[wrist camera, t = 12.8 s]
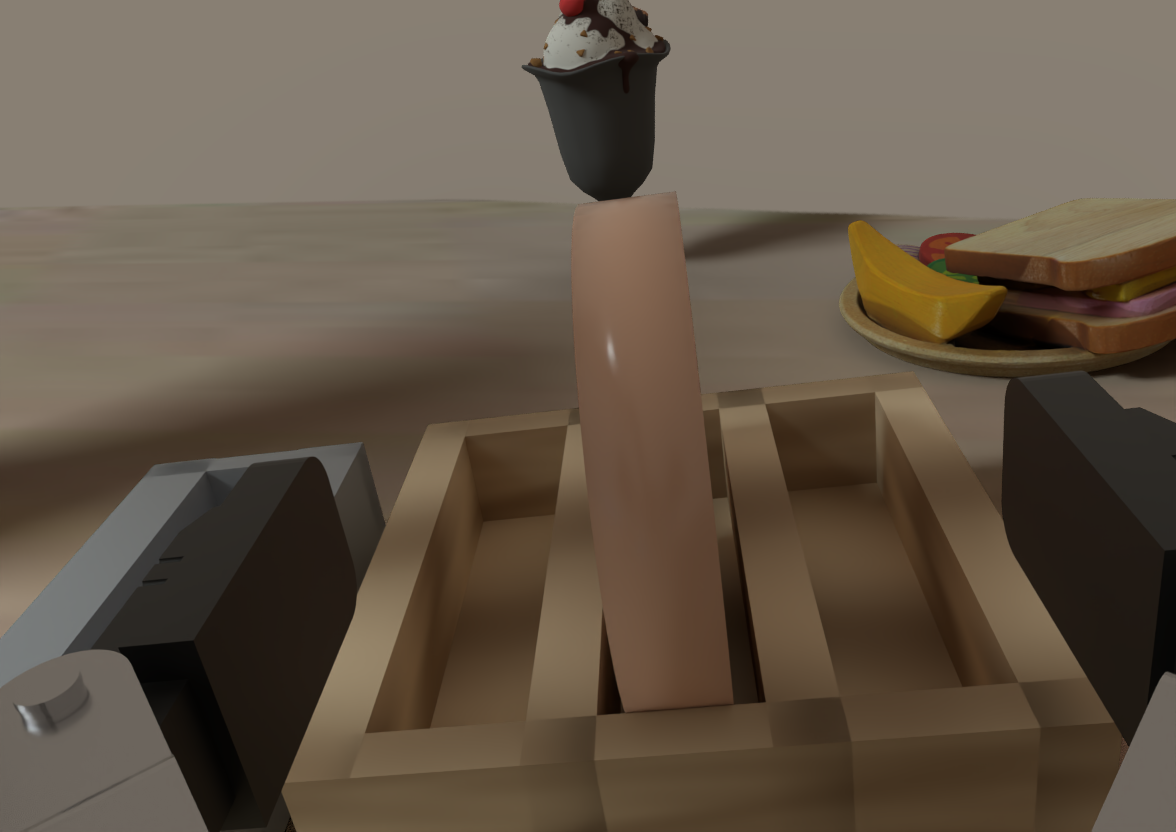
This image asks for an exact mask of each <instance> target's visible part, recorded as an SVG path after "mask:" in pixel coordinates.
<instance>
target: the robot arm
mask: <svg viewBox="0 0 1176 832" xmlns="http://www.w3.org/2000/svg"><path fill="white" fill-rule="evenodd" d="M1002 514H1003V522H1004V527H1005V532H1006V536H1007V539H1008V543H1009V545H1010V548H1011V550H1012V553H1013V555H1014V557H1015V558H1016V560H1017V562H1018V563H1019V565H1020V567H1021V568H1022V570H1023V572H1024V573H1025V575H1026V577H1027V578H1028V580H1029V582H1030V583H1031V585H1032V586H1033V588H1034V590H1035V591H1036V593H1037V595H1038V596H1039V598H1040V600H1041V601H1042V603H1043V605H1044V606H1045V608H1046V610H1047V611H1048V613H1049V615H1050V616H1051V618H1052V620H1053V621H1054V623H1055V625H1056V626H1057V628H1058V630H1059V631H1060V633H1061V635H1062V636H1063V638H1064V640H1065V641H1066V643H1067V645H1068V646H1069V648H1070V650H1071V651H1072V653H1073V655H1074V656H1075V658H1076V660H1077V661H1078V663H1079V665H1080V666H1081V668H1082V670H1083V671H1084V673H1085V675H1086V676H1087V678H1088V680H1089V681H1090V683H1091V685H1092V686H1093V688H1094V690H1095V691H1096V693H1097V695H1098V696H1099V698H1100V700H1101V701H1102V703H1103V705H1104V706H1105V708H1106V710H1107V711H1108V713H1109V715H1110V716H1111V718H1112V720H1113V721H1114V723H1115V725H1116V726H1117V728H1118V730H1119V731H1120V733H1121V735H1122V736H1123V738H1124V740H1125V741H1126V743H1127V745H1128V746H1129V749H1128V751H1127V753H1126V755H1125V758H1124V760H1123V762H1122V764H1121V767H1120V769H1119V771H1118V773H1117V775H1116V778H1115V780H1114V782H1113V784H1112V787H1111V789H1110V791H1109V793H1108V795H1107V798H1106V800H1105V802H1104V804H1103V806H1102V809H1101V811H1100V813H1099V815H1098V818H1097V820H1096V822H1095V824H1094V826H1093V829H1092V831H1091V832H1176V423H1174V422H1172V421H1170V420H1168V419H1165V418H1163V417H1161V416H1158V415H1156V414H1154V413H1152V412H1149V411H1147V410H1145V409H1142V408H1140V407H1139V408H1130V409H1123V408H1122V407H1121V406H1120V405H1119V404H1118V403H1117V402H1116V401H1115V400H1114V399H1113V398H1112V397H1111V396H1110V395H1109V394H1108V393H1107V392H1106V391H1105V390H1104V389H1103V388H1102V387H1101V386H1100V385H1099V384H1098V383H1097V382H1096V381H1095V380H1094V379H1093V378H1092V377H1091V376H1090V375H1089V374H1088V373H1086V372H1085V371H1073V372H1064V373H1055V374H1046V375H1037V376H1029V377H1020V378H1013V379H1011V380H1010V382H1009V384H1008V386H1007V390H1006V395H1005V408H1004V440H1003V472H1002ZM142 583H143V585H142V586H141V587H137V588H136V590H135V591H134V592H133V594H132V595H131V596H130V598H129V599H128V600H127V602H126V603H125V604H124V606H123V607H122V608H121V609H120V611H119V612H118V613H117V615H116V616H115V617H114V619H113V620H112V621H111V623H110V624H109V625H108V627H107V628H106V629H105V631H104V632H103V633H102V634H101V636H100V637H99V638H98V640H97V641H96V642H95V644H94V645H93V646H92V648H91V649H90V650H86V651H79V652H74V653H70V654H66V655H63V656H60V657H57V658H54V659H51V660H49V661H46V662H44V663H41V664H39V665H37V666H35V667H33V668H31V669H29V670H27V671H25V672H23V673H22V674H20V675H18V676H17V677H15V678H13V679H12V680H11V681H9V682H8V683H6V684H5V685H3V686H2V687H1V688H0V832H220V831H227V830H240V829H254V828H266V827H267V825H268V822H269V820H270V817H271V815H272V813H273V810H274V808H275V805H276V803H277V801H278V798H279V796H280V793H281V791H282V788H283V786H284V784H285V781H286V779H287V776H288V774H289V771H290V769H291V767H292V764H293V762H294V759H295V757H296V755H297V752H298V750H299V747H300V745H301V742H302V740H303V738H304V735H305V733H306V730H307V728H308V725H309V723H310V721H311V718H312V716H313V713H314V711H315V708H316V706H317V704H318V701H319V699H320V696H321V694H322V692H323V689H324V687H325V684H326V682H327V679H328V677H329V675H330V672H331V670H332V667H333V665H334V662H335V660H336V658H337V655H338V653H339V650H340V648H341V646H342V643H343V641H344V638H345V636H346V633H347V631H348V629H349V626H350V624H351V621H352V619H353V616H354V613H355V608H356V600H357V581H356V573H355V568H354V564H353V560H352V557H351V553H350V550H349V546H348V543H347V540H346V536H345V533H344V529H343V526H342V523H341V519H340V516H339V512H338V509H337V506H336V502H335V499H334V495H333V492H332V488H331V485H330V482H329V478H328V475H327V472H326V470H325V468H324V466H323V464H322V463H321V461H320V460H319V459H318V458H316V457H314V456H311V457H302V458H293V459H284V460H275V461H267V462H258V463H253V464H251V465H250V466H249V467H248V468H247V470H246V471H245V472H244V474H243V475H242V477H241V478H240V479H239V481H238V482H237V484H236V485H235V486H234V488H233V489H232V490H231V492H230V493H229V495H228V496H227V497H226V499H225V500H224V501H223V503H222V504H221V506H218V507H213V508H211V509H210V510H209V511H207V512H206V513H205V514H203V515H202V516H200V517H199V518H198V519H196V520H195V521H194V522H192V523H191V524H190V525H188V526H187V527H185V528H184V529H183V530H181V531H180V532H179V533H178V534H177V536H176V537H175V538H174V540H173V541H172V542H171V544H170V545H169V546H168V548H167V549H166V550H165V552H164V553H163V554H162V555H161V557H160V558H159V564H155V565H154V566H153V567H152V569H151V570H150V571H149V573H148V574H147V575H146V577H145V578H144V579H143V581H142Z"/></svg>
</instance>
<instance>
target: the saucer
mask: <svg viewBox="0 0 1176 832" xmlns="http://www.w3.org/2000/svg"><path fill="white" fill-rule="evenodd" d="M571 279H572V311H573V331H574V348H575V363H576V378H577V390H578V402H579V414H580V426H581V436H582V446H583V456H584V466H585V476H586V484H587V493H588V502H589V511H590V519H591V527H592V534H593V542H594V550H595V558H596V565H597V572H598V578H599V585H600V592H601V599H602V605H603V611H604V617H605V623H606V629H607V635H608V641H609V646H610V651H611V657H612V662H613V667H614V671H615V676H616V681H617V685H618V690H619V693H620V697H621V701H622V705H623V708H624V711H625V713H635V712H648V711H661V710H674V709H686V708H699V707H712V706H725V705H734V702H733V691H732V680H731V670H730V660H729V649H728V640H727V630H726V620H725V610H724V601H723V591H722V582H721V572H720V563H719V554H718V544H717V535H716V526H715V517H714V507H713V498H712V489H711V480H710V471H709V462H708V453H707V444H706V435H705V426H704V417H703V408H702V400H701V391H700V382H699V373H698V364H697V356H696V347H695V338H694V330H693V321H692V313H691V304H690V296H689V287H688V279H687V271H686V262H685V254H684V246H683V238H682V230H681V222H680V215H679V208H678V201H677V195H676V191H674V192H667V193H660V194H652V195H644V196H637V197H629V198H621V199H614V200H606V201H599V202H591V203H583V204H578V206H577V207H576V209H575V213H574V219H573V228H572V248H571Z"/></svg>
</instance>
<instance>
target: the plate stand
mask: <svg viewBox="0 0 1176 832" xmlns="http://www.w3.org/2000/svg"><path fill="white" fill-rule="evenodd" d="M311 456H314V457H316V458H318V459H319V460H320V461H321V463H322V464H323V466H324V468H325V470H326V472H327V475H328V478H329V482H330V485H331V488H332V492H333V495H334V499H335V502H336V506H337V509H338V512H339V516H340V519H341V523H342V526H343V529H344V533H345V536H346V540H347V543H348V546H349V550H350V553H351V557H352V560H353V564H354V568H355V573H356V581H357V594H358V591H359V589H360V587H361V584H362V582H363V579H364V577H365V575H366V572H367V570H368V567H369V565H370V563H371V560H372V558H373V555H374V553H375V551H376V548H377V546H378V543H379V541H380V539H381V536H382V534H383V531H384V529H385V527H386V525H385V521H384V517H383V514H382V510H381V506H380V503H379V499H378V495H377V492H376V488H375V484H374V481H373V477H372V473H371V470H370V466H369V462H368V458H367V455H366V451H365V447H364V444H363V442H359V443H350V444H340V445H331V446H322V447H313V448H304V449H299V450H293V451H283V452H274V453H265V454H256V455H247V456H237V457H228V458H219V459H216V458H212V459H202V460H193V461H184V462H175V463H166V464H156V465H154V466H153V467H152V468H151V469H150V470H149V471H148V473H147V474H146V475H145V476H144V477H143V478H142V479H141V480H140V482H139V483H138V484H137V485H136V486H135V487H134V488H133V490H132V491H131V492H130V493H129V494H128V495H127V496H126V497H125V499H124V500H123V501H122V502H121V503H120V504H119V505H118V506H117V508H116V509H115V510H114V511H113V512H112V513H111V514H110V515H109V517H108V518H107V519H106V520H105V521H104V522H103V523H102V525H101V526H100V527H99V528H98V529H97V530H96V531H95V532H94V534H93V535H92V536H91V537H90V538H89V539H88V540H87V541H86V543H85V544H84V545H83V546H82V547H81V548H80V549H79V551H78V552H77V553H76V554H75V555H74V556H73V557H72V558H71V560H70V561H69V562H68V563H67V564H66V565H65V566H64V567H63V569H62V570H61V571H60V572H59V573H58V574H57V575H56V576H55V578H54V579H53V580H52V581H51V582H50V583H49V584H48V586H47V587H46V588H45V589H44V590H43V591H42V592H41V593H40V595H39V596H38V597H37V598H36V599H35V600H34V601H33V602H32V604H31V605H30V606H29V607H28V608H27V609H26V610H25V612H24V613H23V614H22V615H21V616H20V617H19V618H18V619H17V621H16V622H15V623H14V624H13V625H12V626H11V627H10V628H9V630H8V631H7V632H6V633H5V634H4V635H3V636H2V637H1V639H0V688H1V687H2V686H3V685H5V684H6V683H8V682H9V681H11V680H12V679H13V678H15V677H17V676H18V675H20V674H22V673H23V672H25V671H27V670H29V669H31V668H33V667H35V666H37V665H39V664H41V663H44V662H46V661H49V660H51V659H54V658H57V657H60V656H63V655H66V654H70V653H74V652H79V651H86V650H90V649H91V648H92V646H93V645H94V644H95V642H96V641H97V640H98V638H99V637H100V636H101V634H102V633H103V632H104V631H105V629H106V628H107V627H108V625H109V624H110V623H111V621H112V620H113V619H114V617H115V616H116V615H117V613H118V612H119V611H120V609H121V608H122V607H123V606H124V604H125V603H126V602H127V600H128V599H129V598H130V596H131V595H132V594H133V592H134V591H135V590H136V588H137V587H141V586H142V585H143V583H142V581H143V579H144V578H145V577H146V575H147V574H148V573H149V571H150V570H151V569H152V567H153V566H154V565H155V564H159V558H160V557H161V555H162V554H163V553H164V552H165V550H166V549H167V548H168V546H169V545H170V544H171V542H172V541H173V540H174V538H175V537H176V536H177V534H178V533H179V532H180V531H181V530H183V529H184V528H185V527H187V526H188V525H190V524H191V523H192V522H194V521H195V520H196V519H198V518H199V517H200V516H202V515H203V514H205V513H206V512H207V511H209V510H210V509H211V508H213V507H218V506H221V504H222V503H223V501H224V500H225V499H226V497H227V496H228V495H229V493H230V492H231V490H232V489H233V488H234V486H235V485H236V484H237V482H238V481H239V479H240V478H241V477H242V475H243V474H244V472H245V471H246V470H247V468H248V467H249V466H250V465H251V464H253V463H258V462H267V461H275V460H284V459H293V458H302V457H311ZM289 819H290V813H289V810H288V808H287V805H286V802H285V800H284V797H283V794H282V792H281V793H280V796H279V798H278V801H277V803H276V805H275V808H274V810H273V813H272V815H271V817H270V820H269V822H268V825H267V827H266V828H254V829H240V830H227V831H220V832H285V829H286V827H287V824H288V821H289Z"/></svg>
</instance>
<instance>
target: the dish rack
mask: <svg viewBox="0 0 1176 832" xmlns="http://www.w3.org/2000/svg"><path fill="white" fill-rule="evenodd" d="M701 400H702V408H703V417H704V426H705V435H706V444H707V453H708V462H709V471H710V480H711V489H712V498H713V507H714V517H715V526H716V535H717V544H718V554H719V563H720V572H721V582H722V591H723V601H724V610H725V620H726V630H727V640H728V649H729V660H730V670H731V680H732V691H733V702H734V705H725V706H712V707H699V708H686V709H674V710H661V711H648V712H635V713H625V711H624V708H623V705H622V701H621V697H620V693H619V690H618V685H617V681H616V676H615V671H614V667H613V662H612V657H611V651H610V646H609V641H608V635H607V629H606V623H605V617H604V611H603V605H602V599H601V592H600V585H599V578H598V572H597V565H596V558H595V550H594V542H593V534H592V527H591V519H590V511H589V502H588V493H587V484H586V476H585V466H584V456H583V446H582V436H581V426H580V414H579V408H574V409H565V410H556V411H546V412H537V413H528V414H519V415H510V416H501V417H492V418H483V419H474V420H464V421H455V422H446V423H437V424H428V426H427V428H426V431H425V433H424V435H423V438H422V440H421V443H420V445H419V447H418V450H417V452H416V455H415V457H414V459H413V462H412V464H411V467H410V469H409V471H408V474H407V476H406V479H405V481H404V483H403V486H402V488H401V491H400V493H399V495H398V498H397V500H396V503H395V505H394V507H393V510H392V512H391V515H390V517H389V519H388V522H387V524H386V527H385V529H384V531H383V534H382V536H381V539H380V541H379V543H378V546H377V548H376V551H375V553H374V555H373V558H372V560H371V563H370V565H369V567H368V570H367V572H366V575H365V577H364V579H363V582H362V584H361V587H360V589H359V591H358V594H357V600H356V608H355V613H354V616H353V619H352V621H351V624H350V626H349V629H348V631H347V633H346V636H345V638H344V641H343V643H342V646H341V648H340V650H339V653H338V655H337V658H336V660H335V662H334V665H333V667H332V670H331V672H330V675H329V677H328V679H327V682H326V684H325V687H324V689H323V692H322V694H321V696H320V699H319V701H318V704H317V706H316V708H315V711H314V713H313V716H312V718H311V721H310V723H309V725H308V728H307V730H306V733H305V735H304V738H303V740H302V742H301V745H300V747H299V750H298V752H297V755H296V757H295V759H294V762H293V764H292V767H291V769H290V771H289V774H288V776H287V779H286V781H285V784H284V786H283V788H282V791H281V792H282V794H283V797H284V800H285V802H286V805H287V808H288V810H289V813H290V816H291V818H292V821H293V824H294V826H295V829H296V832H1091V831H1092V829H1093V826H1094V824H1095V822H1096V820H1097V818H1098V815H1099V813H1100V811H1101V809H1102V806H1103V804H1104V802H1105V800H1106V798H1107V795H1108V793H1109V791H1110V789H1111V787H1112V784H1113V782H1114V780H1115V778H1116V775H1117V773H1118V770H1119V761H1120V752H1121V743H1122V735H1121V733H1120V731H1119V730H1118V728H1117V726H1116V725H1115V723H1114V721H1113V720H1112V718H1111V716H1110V715H1109V713H1108V711H1107V710H1106V708H1105V706H1104V705H1103V703H1102V701H1101V700H1100V698H1099V696H1098V695H1097V693H1096V691H1095V690H1094V688H1093V686H1092V685H1091V683H1090V681H1089V680H1088V678H1087V676H1086V675H1085V673H1084V671H1083V670H1082V668H1081V666H1080V665H1079V663H1078V661H1077V660H1076V658H1075V656H1074V655H1073V653H1072V651H1071V650H1070V648H1069V646H1068V645H1067V643H1066V641H1065V640H1064V638H1063V636H1062V635H1061V633H1060V631H1059V630H1058V628H1057V626H1056V625H1055V623H1054V621H1053V620H1052V618H1051V616H1050V615H1049V613H1048V611H1047V610H1046V608H1045V606H1044V605H1043V603H1042V601H1041V600H1040V598H1039V596H1038V595H1037V593H1036V591H1035V590H1034V588H1033V586H1032V585H1031V583H1030V582H1029V580H1028V578H1027V577H1026V575H1025V573H1024V572H1023V570H1022V568H1021V567H1020V565H1019V563H1018V562H1017V560H1016V558H1015V557H1014V555H1013V553H1012V550H1011V548H1010V545H1009V543H1008V539H1007V536H1006V532H1005V527H1004V522H1003V520H1002V518H1001V516H1000V515H999V513H998V511H997V510H996V508H995V506H994V505H993V503H992V501H991V500H990V498H989V496H988V495H987V493H986V491H985V490H984V488H983V486H982V485H981V483H980V481H979V480H978V478H977V476H976V475H975V473H974V471H973V470H972V468H971V466H970V465H969V463H968V461H967V460H966V458H965V456H964V455H963V453H962V451H961V450H960V448H959V446H958V445H957V443H956V441H955V440H954V438H953V436H952V435H951V433H950V431H949V430H948V428H947V426H946V425H945V423H944V422H943V420H942V418H941V417H940V415H939V413H938V412H937V410H936V408H935V407H934V405H933V403H932V402H931V400H930V398H929V397H928V395H927V393H926V392H925V390H924V388H923V387H922V385H921V383H920V382H919V380H918V378H917V377H916V375H915V373H914V372H913V371H911V372H902V373H892V374H883V375H874V376H865V377H856V378H847V379H838V380H829V381H820V382H811V383H801V384H792V385H783V386H774V387H765V388H756V389H747V390H738V391H729V392H719V393H710V394H701Z"/></svg>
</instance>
